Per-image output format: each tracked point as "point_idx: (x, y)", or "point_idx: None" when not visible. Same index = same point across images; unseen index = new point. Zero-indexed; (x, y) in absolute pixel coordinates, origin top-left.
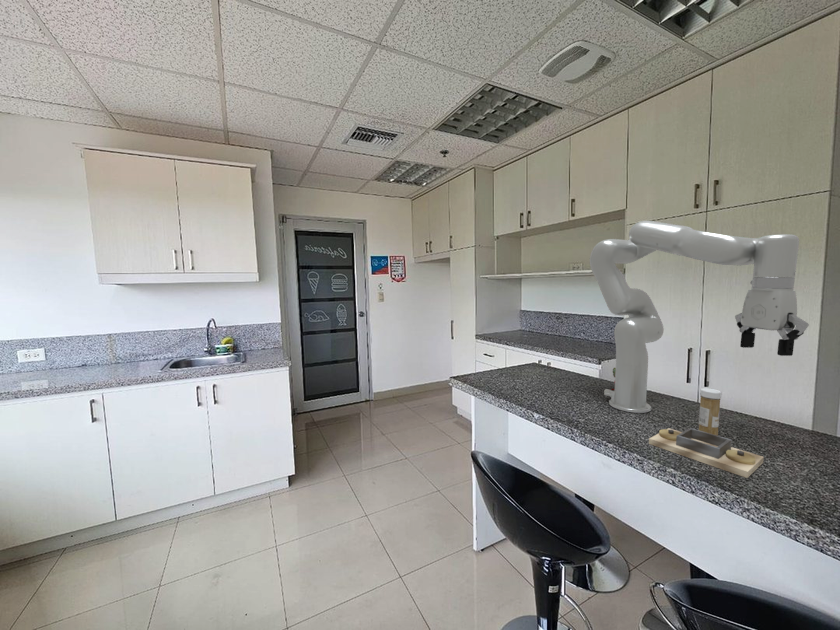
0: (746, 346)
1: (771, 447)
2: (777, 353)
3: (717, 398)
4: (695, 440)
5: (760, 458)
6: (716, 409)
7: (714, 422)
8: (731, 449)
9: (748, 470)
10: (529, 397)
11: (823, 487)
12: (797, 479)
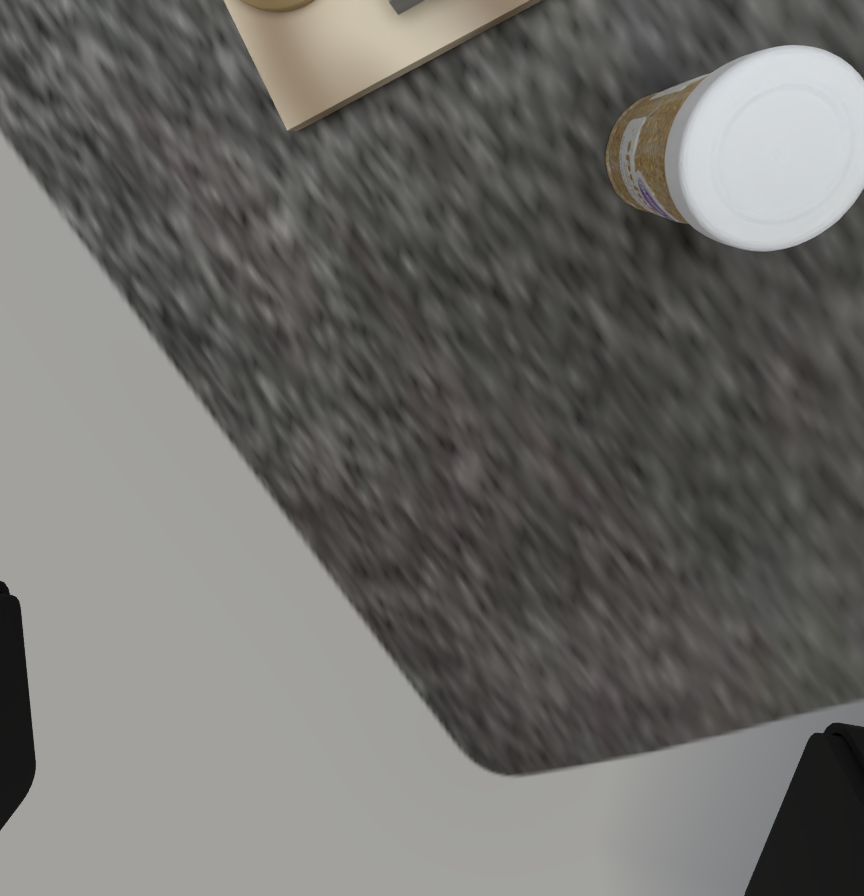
0: (798, 801)
1: (448, 390)
2: (2, 600)
3: (668, 139)
4: None
5: (270, 84)
6: (650, 147)
7: (629, 134)
8: (396, 16)
9: None
10: None
11: (58, 166)
12: (127, 120)
